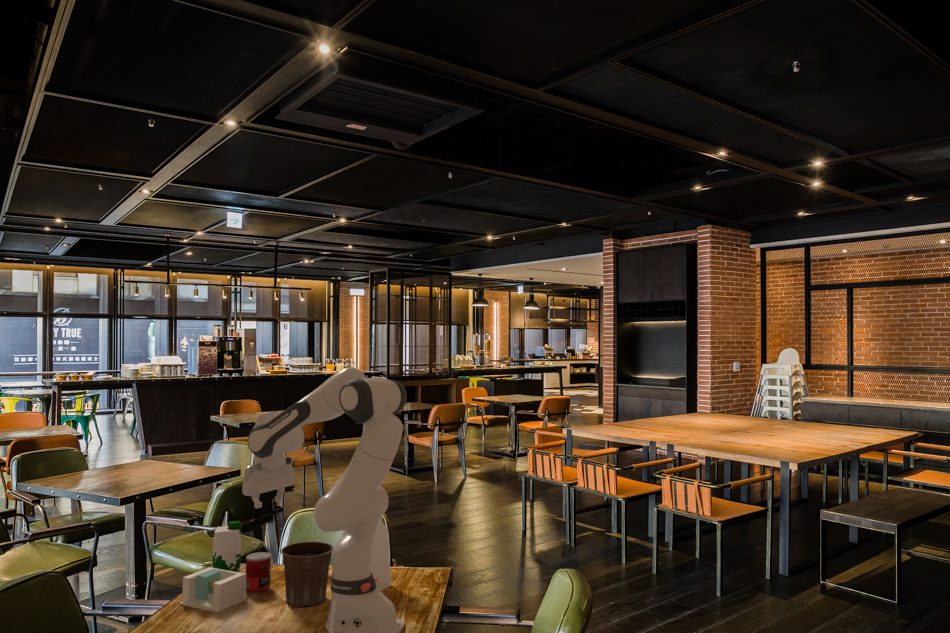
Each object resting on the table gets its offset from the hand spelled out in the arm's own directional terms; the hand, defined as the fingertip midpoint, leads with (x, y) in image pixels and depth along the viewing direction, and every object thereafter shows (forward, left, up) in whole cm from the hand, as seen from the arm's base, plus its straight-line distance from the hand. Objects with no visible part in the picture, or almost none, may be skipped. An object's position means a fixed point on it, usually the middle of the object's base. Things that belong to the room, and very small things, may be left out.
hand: (268, 504), depth 206 cm
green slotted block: (+13, +12, -27) cm, 32 cm away
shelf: (+13, +10, -29) cm, 33 cm away
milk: (-24, -21, -30) cm, 43 cm away
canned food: (+8, -5, -30) cm, 31 cm away
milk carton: (+23, -6, -30) cm, 38 cm away
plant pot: (-13, -4, -30) cm, 33 cm away
